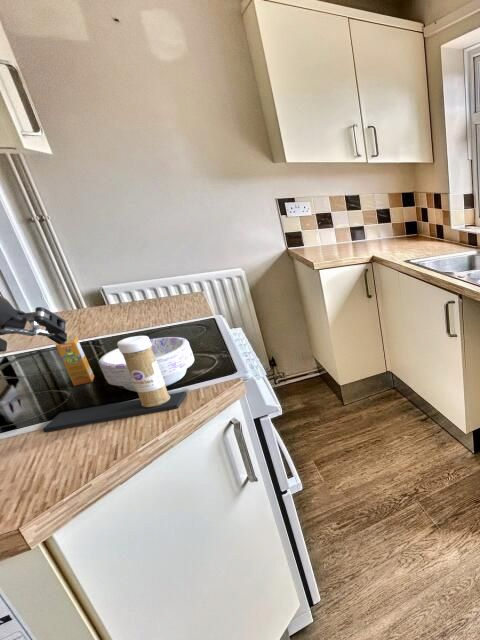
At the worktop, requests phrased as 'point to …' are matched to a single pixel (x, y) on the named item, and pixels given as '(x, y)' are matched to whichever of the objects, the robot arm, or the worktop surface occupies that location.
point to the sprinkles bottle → (144, 370)
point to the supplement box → (75, 361)
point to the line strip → (109, 412)
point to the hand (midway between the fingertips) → (34, 343)
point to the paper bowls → (169, 357)
